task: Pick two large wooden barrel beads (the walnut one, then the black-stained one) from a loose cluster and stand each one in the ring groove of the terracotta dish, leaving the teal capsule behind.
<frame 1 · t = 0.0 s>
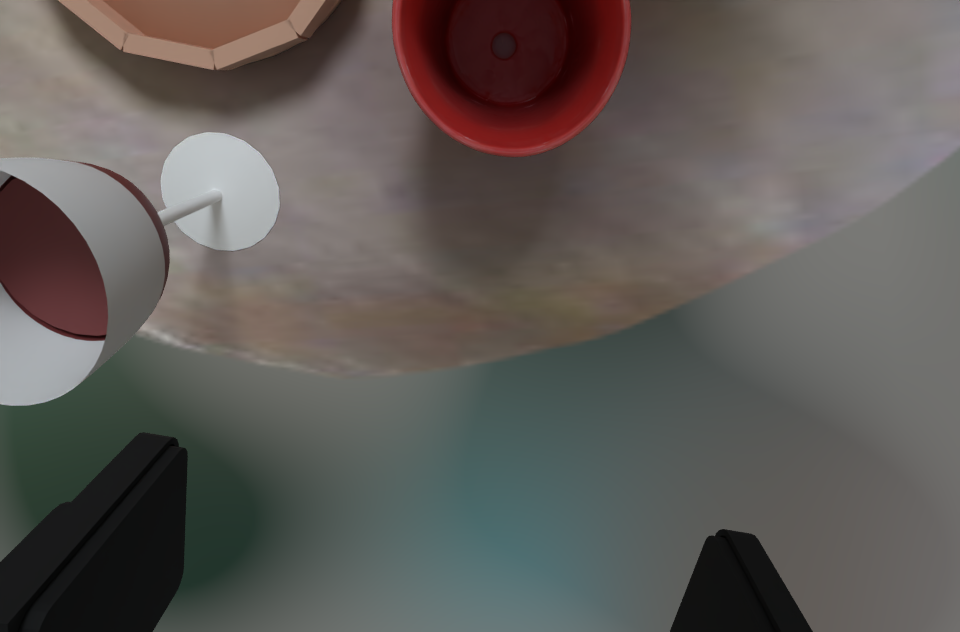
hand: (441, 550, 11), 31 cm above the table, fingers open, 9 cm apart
wineglass: (221, 192, 40), on the table
flower pot: (505, 43, 37), on the table
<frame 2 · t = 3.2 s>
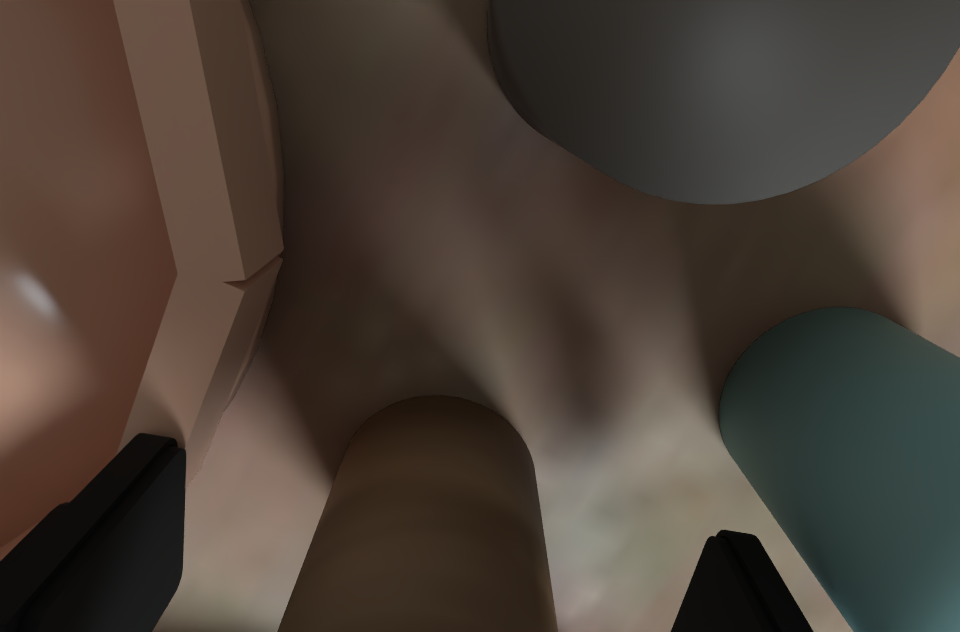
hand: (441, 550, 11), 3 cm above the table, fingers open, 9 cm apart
teal capsule: (821, 403, 14), on the table, touching gripper
bead a: (438, 483, 14), on the table
bead c: (611, 25, 11), on the table
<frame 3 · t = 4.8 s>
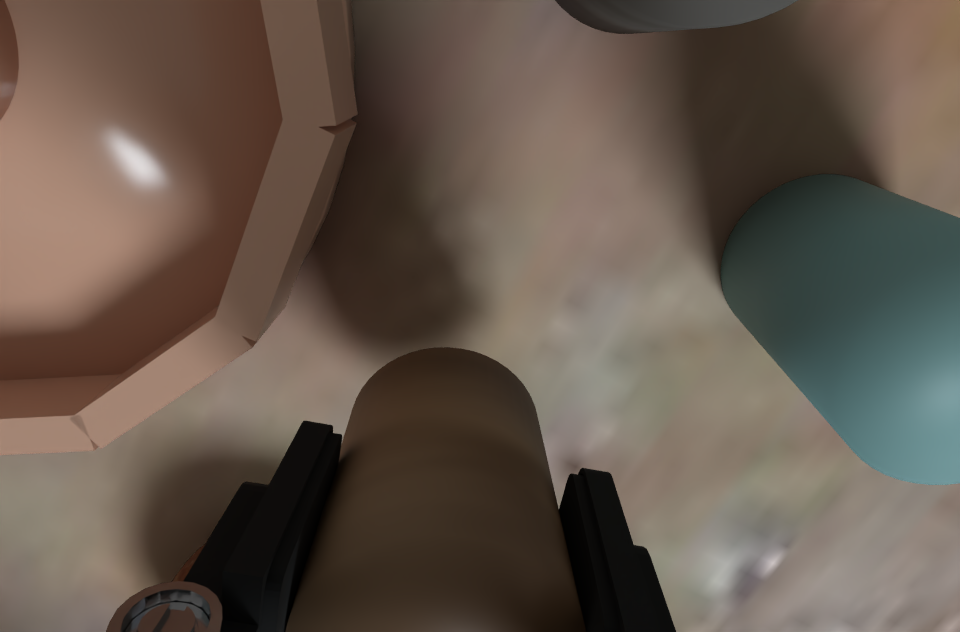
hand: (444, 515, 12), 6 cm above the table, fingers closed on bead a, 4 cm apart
teal capsule: (809, 261, 16), on the table
bead a: (444, 433, 15), point 3 cm above the table, touching gripper
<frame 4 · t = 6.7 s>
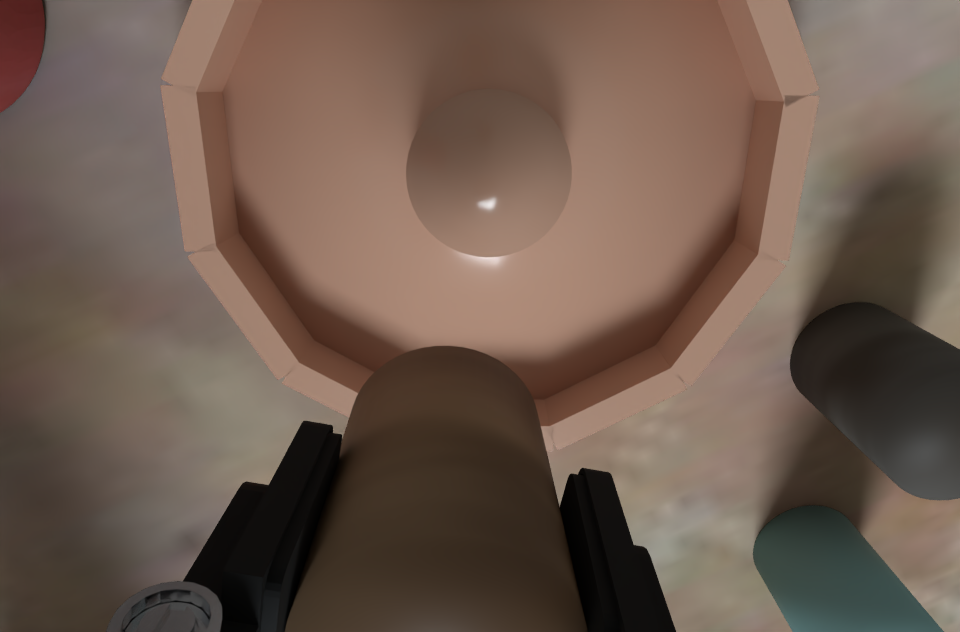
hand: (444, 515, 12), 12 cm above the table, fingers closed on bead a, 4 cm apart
groove dish: (487, 165, 22), on the table
teal capsule: (804, 547, 27), on the table
bead a: (444, 431, 15), point 9 cm above the table, touching gripper
bead c: (848, 356, 24), on the table
when the fingers open (3 cm above the table, at t = 8.6 s): bead a stays where it is, resting on groove dish.
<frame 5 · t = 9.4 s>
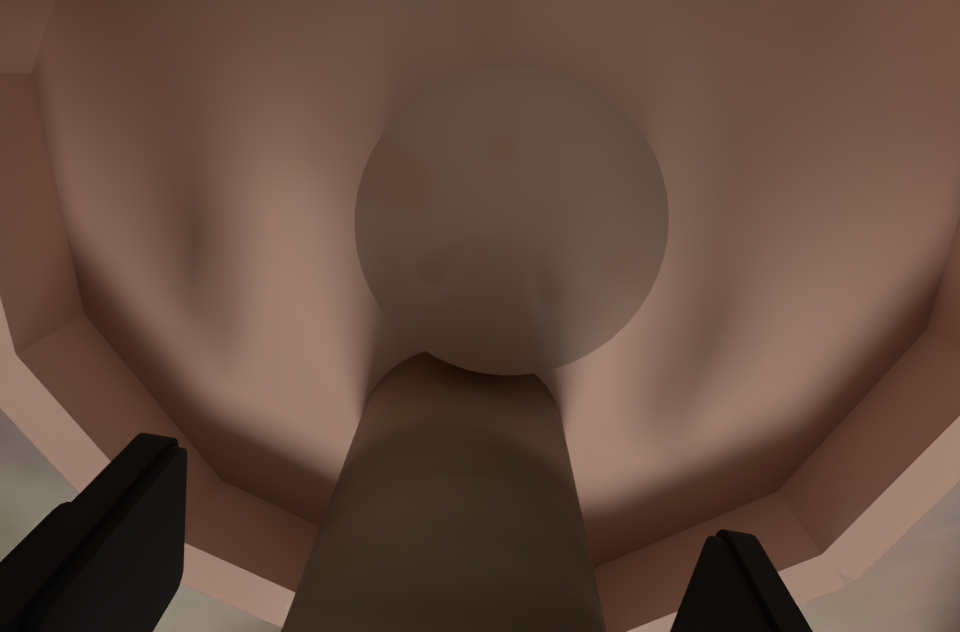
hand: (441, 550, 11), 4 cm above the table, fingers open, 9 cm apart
groove dish: (506, 199, 13), on the table
bead a: (461, 438, 14), point 1 cm above the table, touching groove dish
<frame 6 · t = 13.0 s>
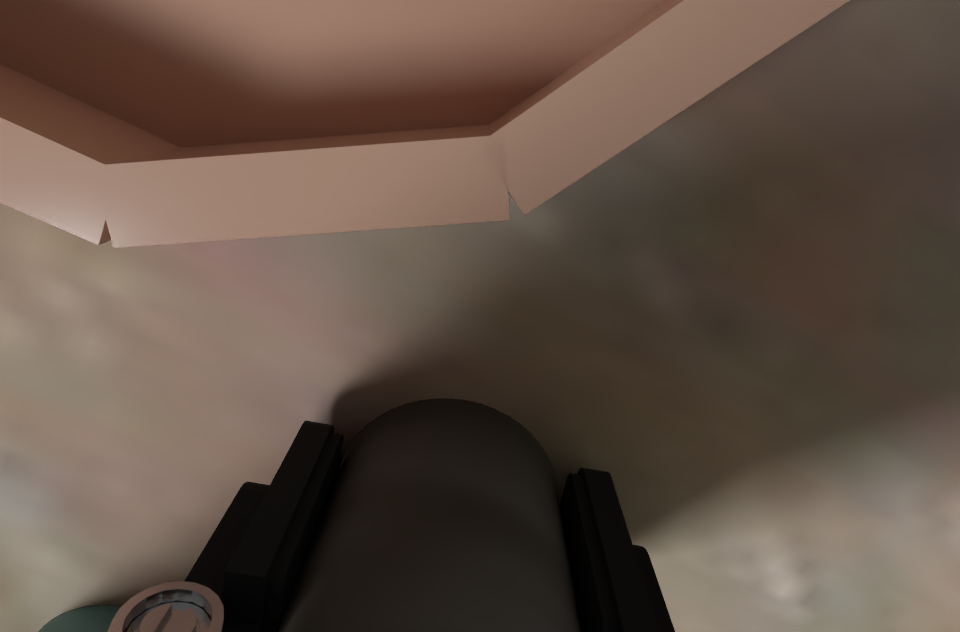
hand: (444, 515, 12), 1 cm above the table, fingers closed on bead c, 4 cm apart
bead c: (446, 496, 13), on the table, touching gripper
when the fingers open (3 cm above the table, at t = 17.5 s): bead c drops 1 cm, resting on groove dish.
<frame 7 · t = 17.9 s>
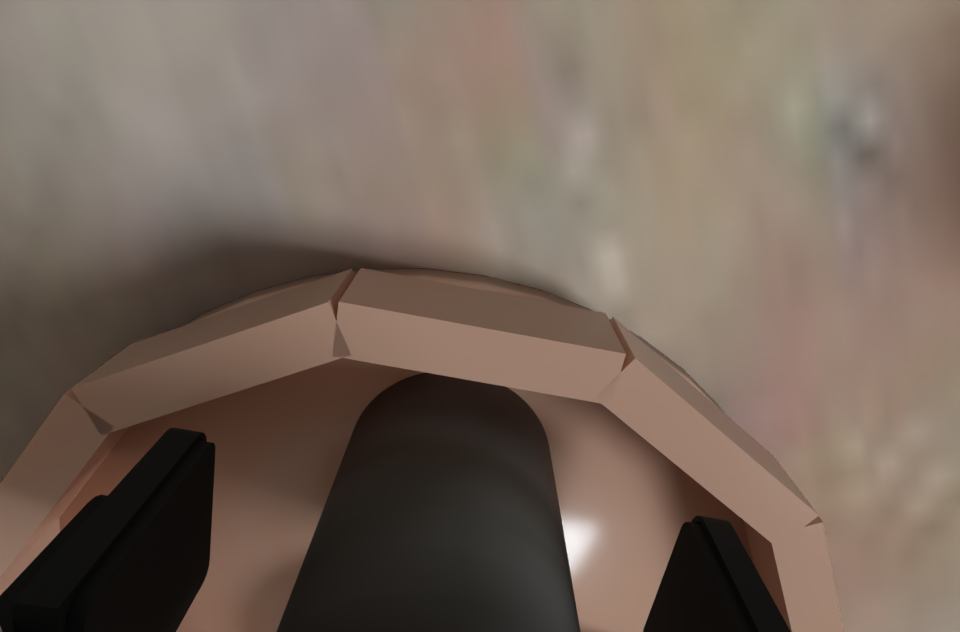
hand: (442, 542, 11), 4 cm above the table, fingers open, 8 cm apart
groove dish: (415, 615, 17), on the table
bead c: (449, 461, 14), point 1 cm above the table, touching groove dish
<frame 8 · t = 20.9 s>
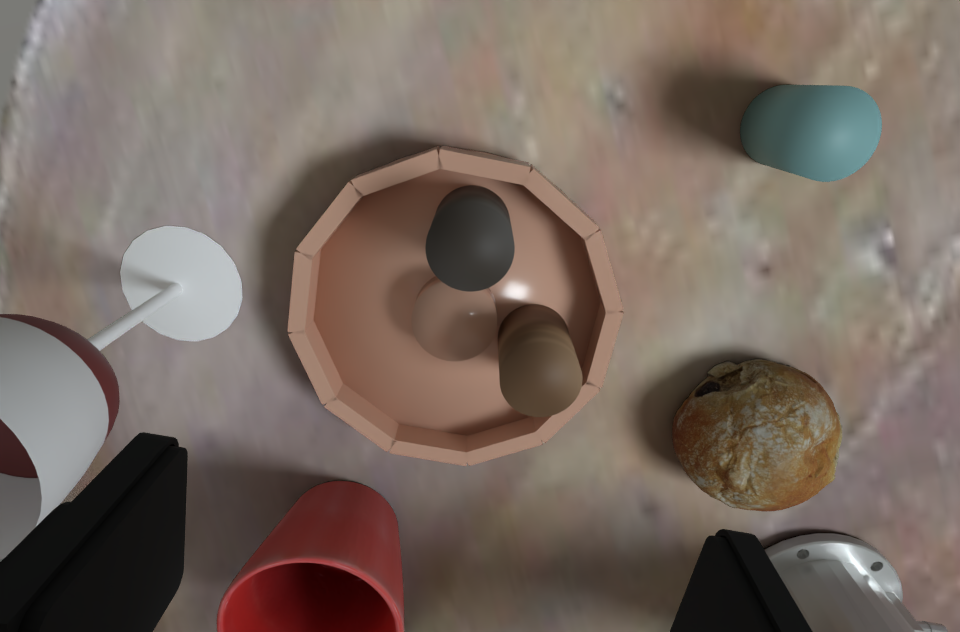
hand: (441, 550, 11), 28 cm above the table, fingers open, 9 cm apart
groove dish: (456, 305, 40), on the table
bread roll: (747, 421, 43), on the table
teal capsule: (779, 126, 36), on the table
wineglass: (183, 284, 40), on the table
bead a: (533, 337, 39), point 1 cm above the table, touching groove dish
bead c: (472, 223, 37), point 1 cm above the table, touching groove dish
flower pot: (344, 521, 46), on the table
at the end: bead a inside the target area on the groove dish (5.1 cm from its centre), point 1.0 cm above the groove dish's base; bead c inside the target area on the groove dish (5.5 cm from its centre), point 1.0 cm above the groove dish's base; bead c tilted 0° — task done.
